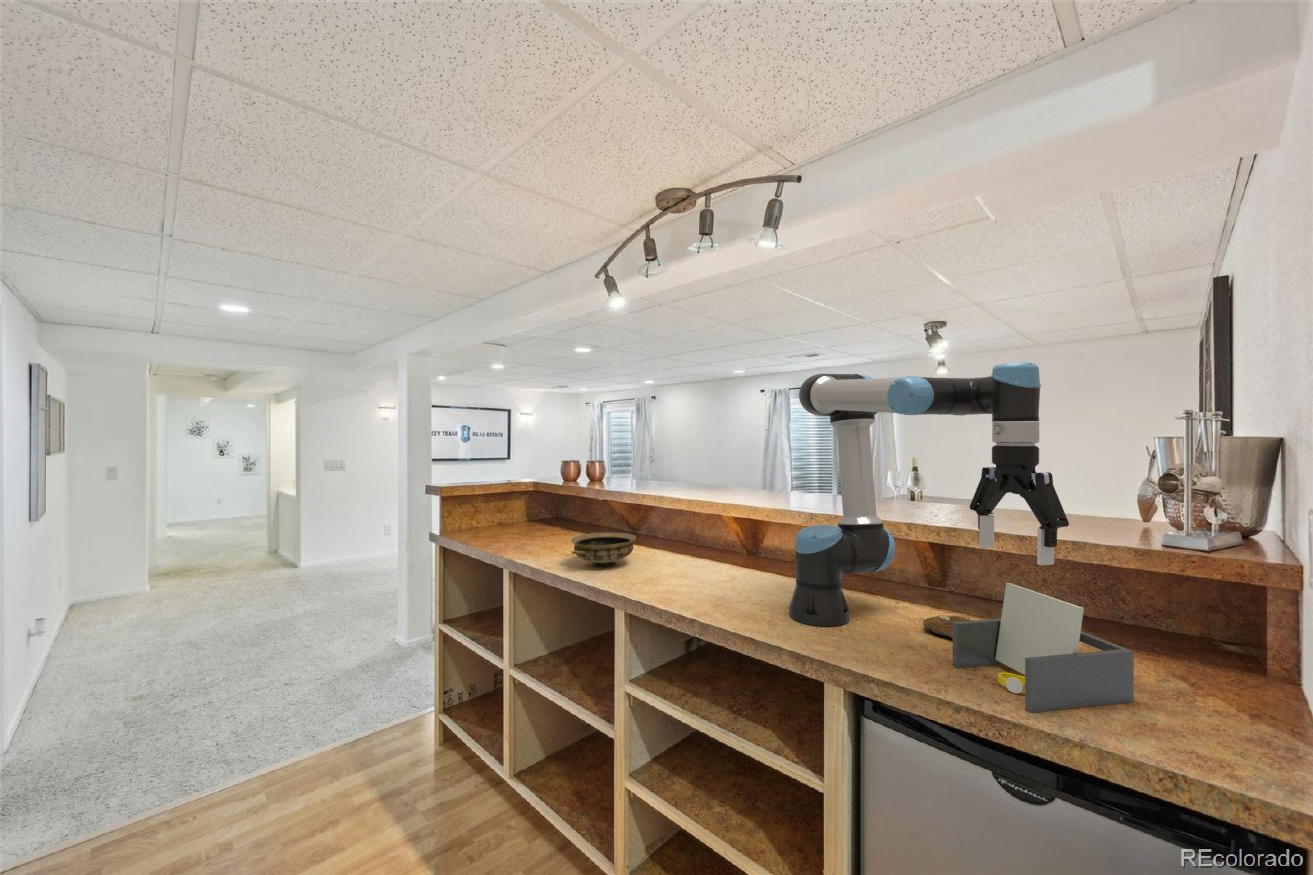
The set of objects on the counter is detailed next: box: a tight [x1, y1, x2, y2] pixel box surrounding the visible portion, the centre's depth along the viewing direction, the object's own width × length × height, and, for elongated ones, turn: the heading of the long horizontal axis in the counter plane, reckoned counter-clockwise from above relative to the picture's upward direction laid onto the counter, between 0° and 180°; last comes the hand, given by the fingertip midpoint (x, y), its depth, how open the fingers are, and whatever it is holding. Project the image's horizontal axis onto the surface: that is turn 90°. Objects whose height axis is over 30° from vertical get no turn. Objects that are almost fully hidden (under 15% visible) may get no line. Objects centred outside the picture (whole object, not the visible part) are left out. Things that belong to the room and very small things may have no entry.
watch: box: [997, 672, 1025, 694], centre depth 101 cm, size 6×3×6 cm
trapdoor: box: [995, 582, 1085, 676], centre depth 103 cm, size 16×16×1 cm
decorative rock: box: [922, 615, 975, 640], centre depth 127 cm, size 11×4×15 cm
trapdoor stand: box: [952, 618, 1135, 714], centre depth 103 cm, size 19×21×9 cm
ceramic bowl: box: [570, 532, 637, 568], centre depth 198 cm, size 30×24×10 cm
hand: (1014, 555), depth 102 cm, fingers open, 13 cm apart
